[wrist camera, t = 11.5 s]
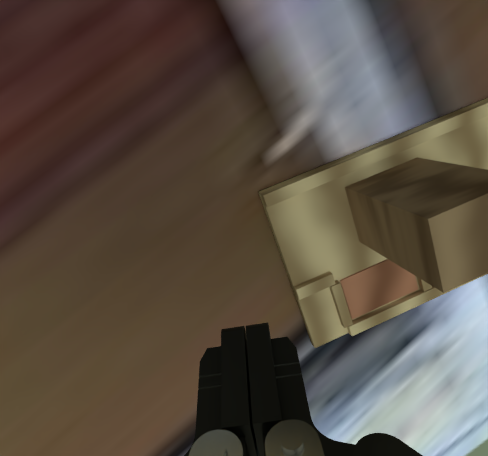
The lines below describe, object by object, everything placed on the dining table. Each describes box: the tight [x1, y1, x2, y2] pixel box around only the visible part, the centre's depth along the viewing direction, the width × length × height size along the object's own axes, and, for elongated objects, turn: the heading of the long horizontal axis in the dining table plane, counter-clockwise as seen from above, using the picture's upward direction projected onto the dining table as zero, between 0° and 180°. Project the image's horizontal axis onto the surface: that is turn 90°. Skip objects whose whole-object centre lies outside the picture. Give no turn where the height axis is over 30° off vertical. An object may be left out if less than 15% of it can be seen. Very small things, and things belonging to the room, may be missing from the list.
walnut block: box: [345, 157, 488, 293], centre depth 37 cm, size 8×6×13 cm
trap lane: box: [258, 98, 488, 348], centre depth 43 cm, size 27×18×5 cm, turn 110°
